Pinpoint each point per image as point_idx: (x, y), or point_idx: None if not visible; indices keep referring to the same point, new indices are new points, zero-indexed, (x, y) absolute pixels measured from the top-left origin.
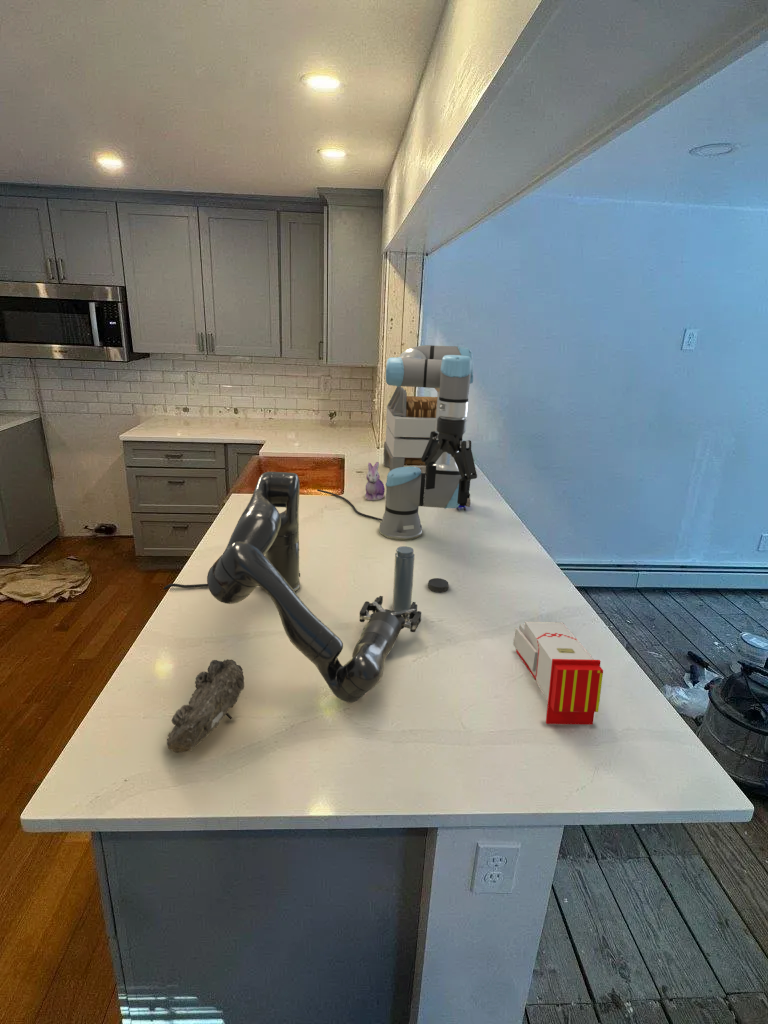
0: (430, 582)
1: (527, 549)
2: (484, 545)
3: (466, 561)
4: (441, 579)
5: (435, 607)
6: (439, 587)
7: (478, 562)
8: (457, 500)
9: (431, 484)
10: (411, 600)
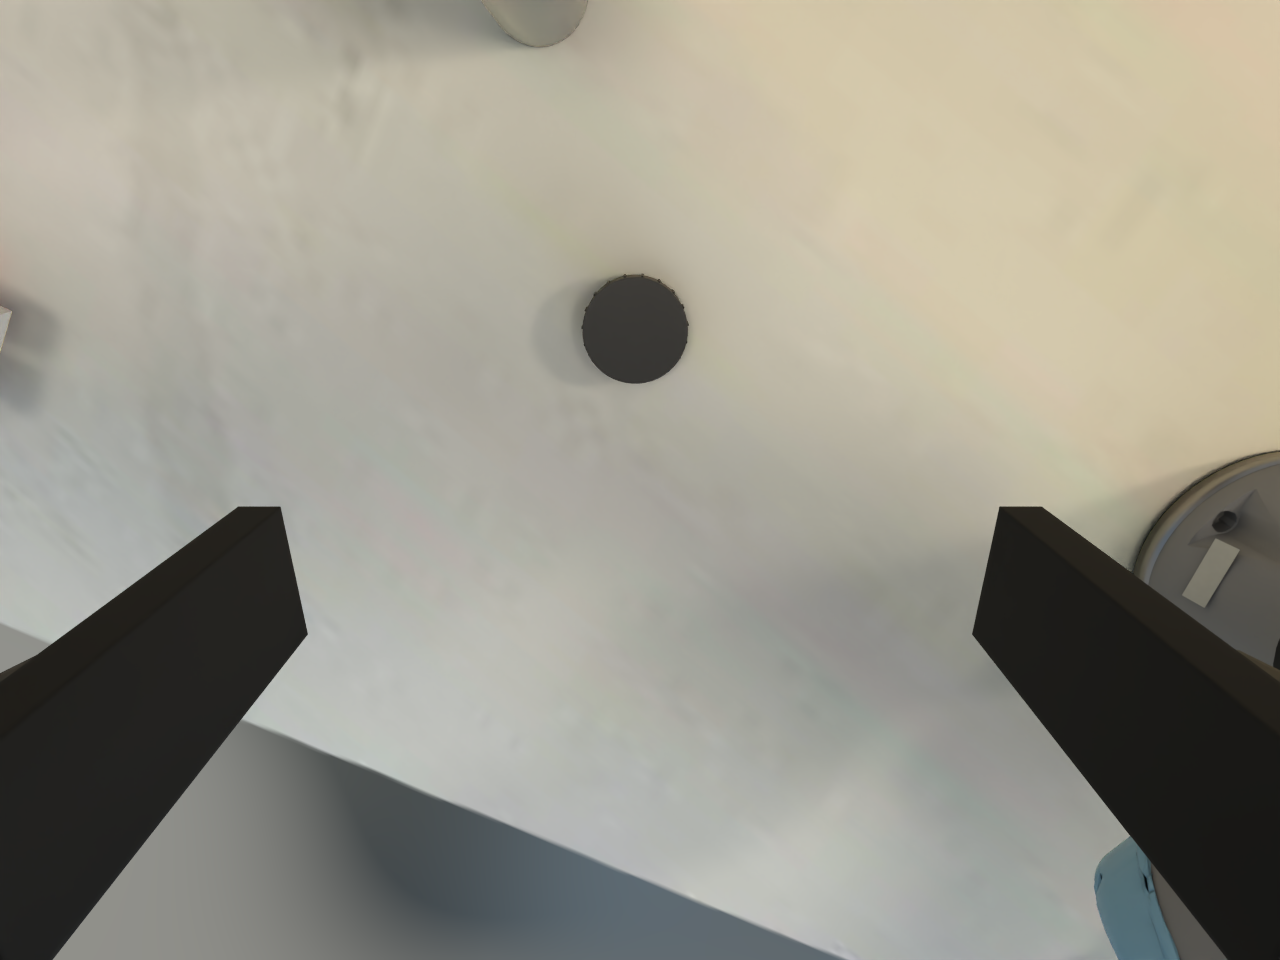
0: (656, 294)
1: (724, 883)
2: (858, 781)
3: (781, 619)
4: (655, 368)
5: (470, 177)
6: (590, 302)
7: (742, 655)
8: (256, 523)
9: (1021, 617)
10: (490, 13)
